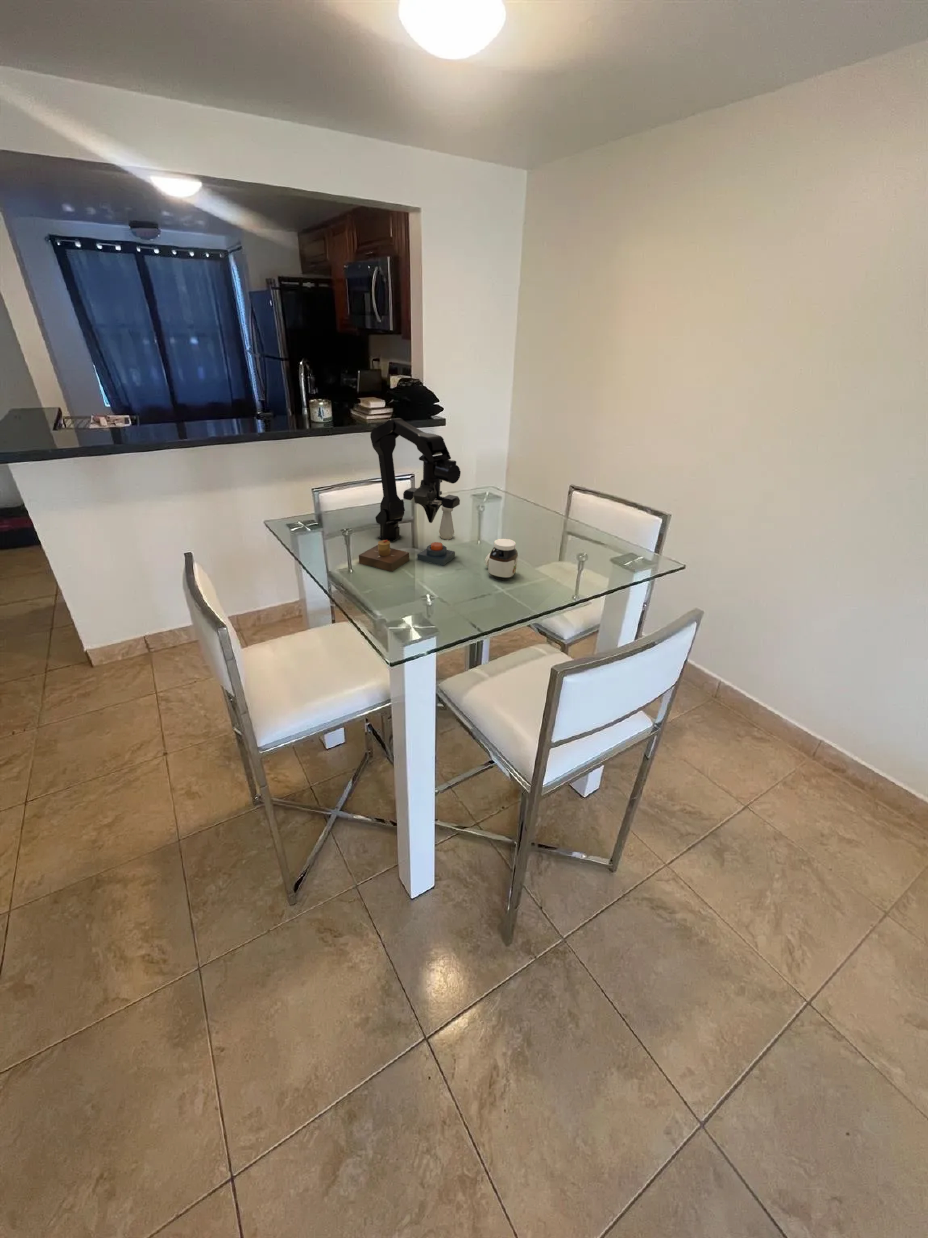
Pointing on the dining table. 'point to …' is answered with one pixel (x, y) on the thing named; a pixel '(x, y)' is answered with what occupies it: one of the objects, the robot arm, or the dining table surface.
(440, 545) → the button
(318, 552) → the dining table surface
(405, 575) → the dining table surface
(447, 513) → the salt shaker
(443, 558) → the button housing
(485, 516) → the dining table surface
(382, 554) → the dial
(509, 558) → the spread jar
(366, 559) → the dial panel
